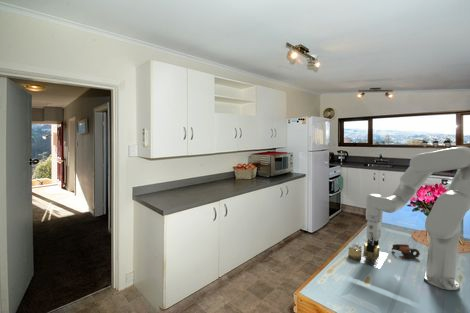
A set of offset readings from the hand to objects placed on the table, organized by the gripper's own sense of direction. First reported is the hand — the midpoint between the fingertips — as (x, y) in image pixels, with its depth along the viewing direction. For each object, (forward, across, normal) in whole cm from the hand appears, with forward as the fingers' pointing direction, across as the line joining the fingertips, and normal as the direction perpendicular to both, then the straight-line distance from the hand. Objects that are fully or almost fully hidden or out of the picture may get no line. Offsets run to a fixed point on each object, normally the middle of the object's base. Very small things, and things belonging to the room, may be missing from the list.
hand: (372, 248), depth 127 cm
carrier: (+4, -5, +2) cm, 6 cm away
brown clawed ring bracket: (+4, +10, -13) cm, 17 cm away
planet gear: (+2, 0, 0) cm, 2 cm away
